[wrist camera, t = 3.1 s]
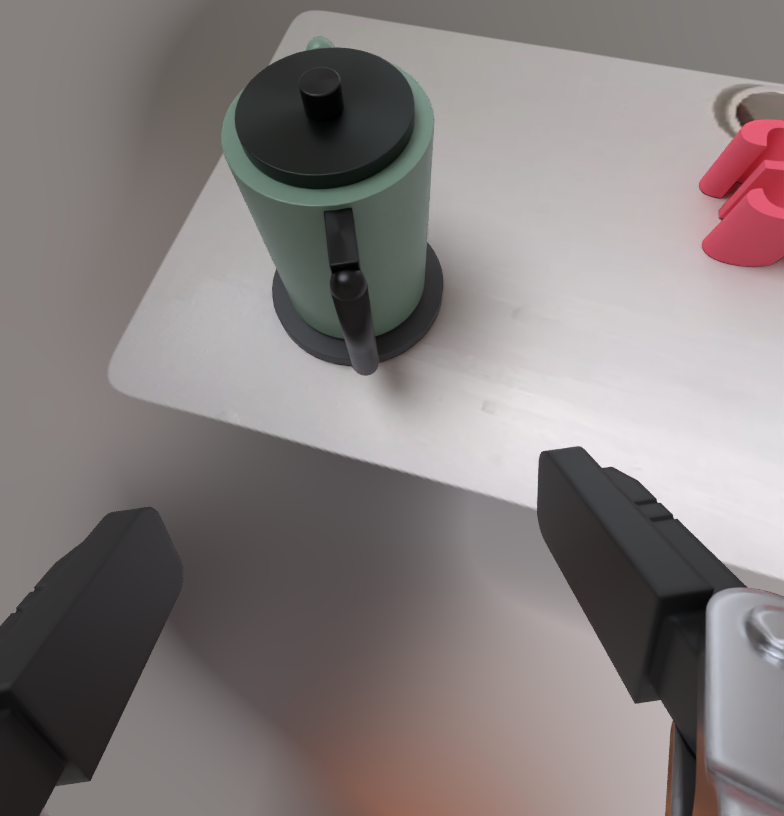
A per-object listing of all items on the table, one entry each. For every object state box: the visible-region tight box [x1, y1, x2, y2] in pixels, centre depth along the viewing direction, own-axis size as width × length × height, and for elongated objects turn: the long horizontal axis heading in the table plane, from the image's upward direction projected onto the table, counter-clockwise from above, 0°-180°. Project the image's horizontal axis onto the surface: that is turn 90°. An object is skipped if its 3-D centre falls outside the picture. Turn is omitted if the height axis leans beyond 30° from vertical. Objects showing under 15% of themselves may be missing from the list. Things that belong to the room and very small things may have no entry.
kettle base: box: [272, 242, 443, 365], centre depth 34 cm, size 14×14×1 cm
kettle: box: [221, 36, 434, 375], centre depth 26 cm, size 19×11×15 cm, turn 8°
